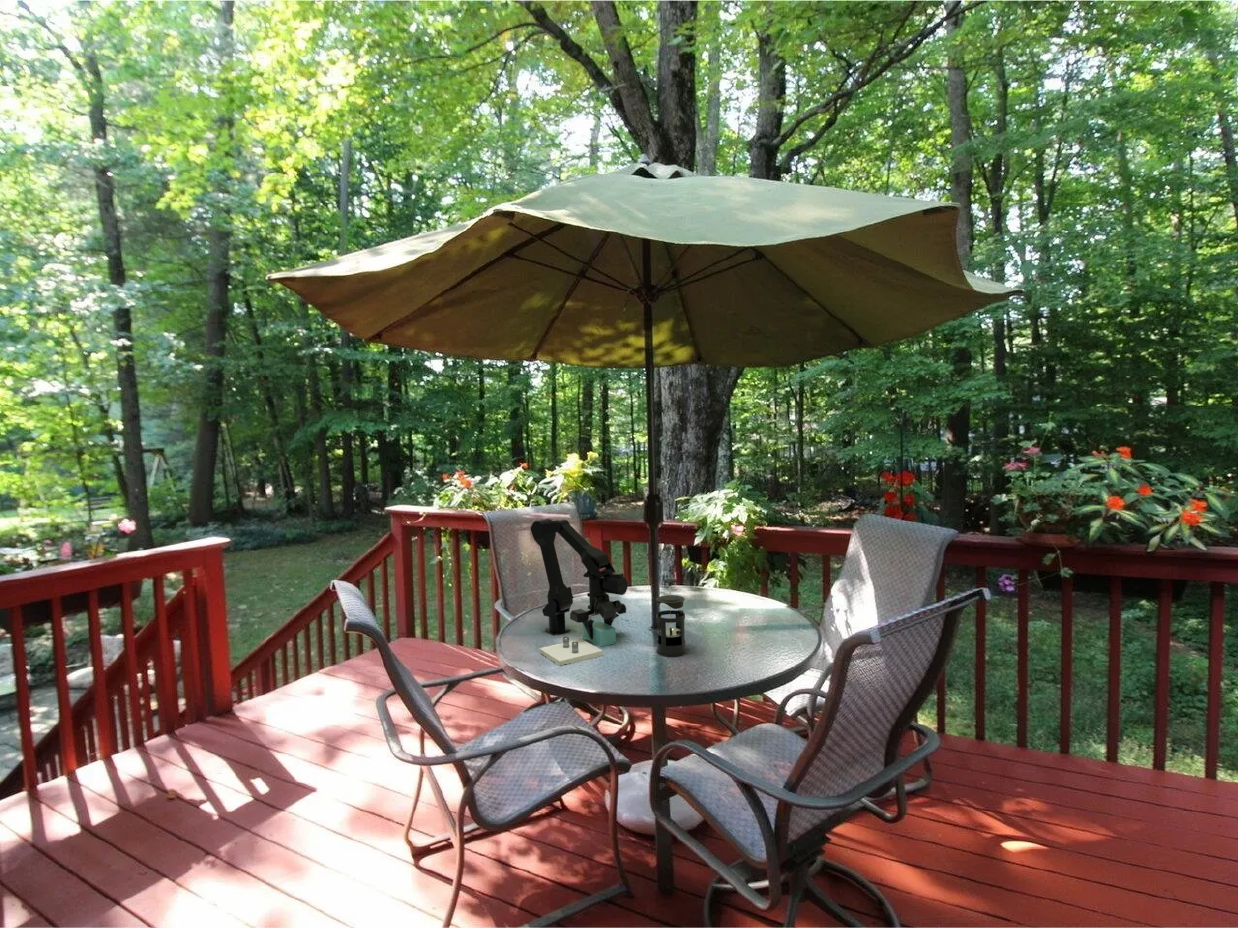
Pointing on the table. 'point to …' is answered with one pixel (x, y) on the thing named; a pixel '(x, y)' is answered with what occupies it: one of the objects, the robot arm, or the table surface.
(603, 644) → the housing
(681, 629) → the french press
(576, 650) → the stubs
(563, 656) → the base plate
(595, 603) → the robot arm
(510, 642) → the table surface
